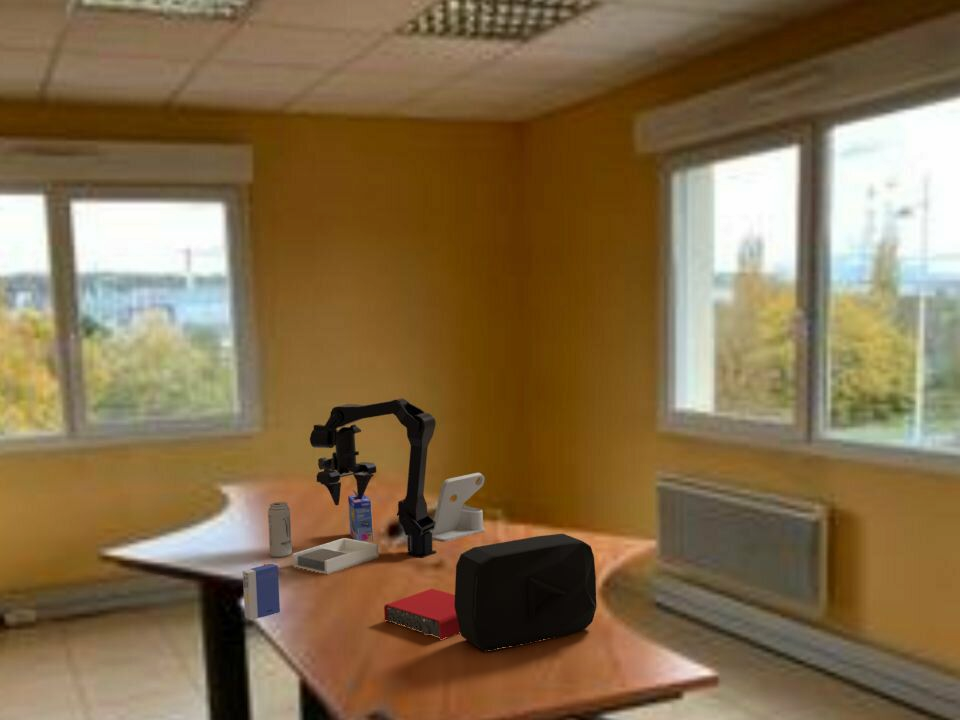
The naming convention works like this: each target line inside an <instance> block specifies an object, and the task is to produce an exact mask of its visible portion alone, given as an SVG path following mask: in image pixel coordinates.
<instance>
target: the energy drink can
mask: <svg viewBox="0 0 960 720" xmlns="http://www.w3.org/2000/svg"><path fill="white" fill-rule="evenodd" d="M267 519H268V537H269V538H268V539H269V542H268V543H269V555H270V556H271V557H273V558H285V556H286V557H289V556H290V555H291V554H293V551H292V549H293V548H292V529H291V527H292V526H291V509H290V507H289V505H288V502H285V501H277V502H271V503H270V504H269V508H268V510H267ZM288 555H289V556H288Z"/></svg>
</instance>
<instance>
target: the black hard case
mask: <svg viewBox="0 0 960 720" xmlns="http://www.w3.org/2000/svg"><path fill="white" fill-rule="evenodd" d="M595 565H596V564H595V555H594V553H593V549H592V546H591V545H589V544H588V543H587V542H585V541H583V540H581V539H578V538H576V537H573V536H570V535H569V534H566V533H556V534H547V535H546V534H545V535H539V536H537V535H536V536H533V537H532V536H531V537H526V538H519V539H515V540H507V541H503V542H497V543H491V544H484V545H480V546H473V547H472V548H470V549H468V550H465V551H464V552H463V553H461V554H460V555H459V558H458V560H457V563H456V565H455V585H454V595H455V604H454V607H455V611H456V616H457V620H458V624H459V628H460V633H459V634H460V636H461V638H463V639H465V640H466V641H468V642H470V643H471V644H473V645H474V646H476V647H477V648H479V649H482V650H484V651H485V650H487V651H486V652H489V651H488V650H494V649H497V648H502V647H509V646H515V647H517V646H516V645H520V644H525V643H530V642H535V641H539V640H543V639H548V638H552V639H554V638H553V637H556V638H559V637H558V636H560V637H563V636H562V635H564V636H568V635H571V634H574V633H576V632H579V631H581V630H585V629H587V628H588V627H589V626H590V625H591V624H592V623H593V621H594V618H595V614H596V610H597V606H598V605H597V581H596V580H597V576H596V566H595ZM567 634H568V635H567ZM548 640H549V639H548ZM535 643H536V642H535ZM530 644H531V643H530ZM525 645H526V644H525ZM520 646H521V645H520ZM494 651H495V650H494Z"/></svg>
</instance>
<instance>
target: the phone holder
mask: <svg viewBox="0 0 960 720" xmlns="http://www.w3.org/2000/svg"><path fill="white" fill-rule="evenodd" d="M478 479H479V480H478ZM484 484H485V475H483V474H482V473H481V472H474V473H470V474H465V475H460V476H455V477H450V478H447V479H445V480H444V481H443V482H442V484H441V487H440V491H439V496H438V499H437V504H436V509H435V512H434V517H433V520H434V521H435V522H436V524H435V528H434V529H433V530H431V531H430V532H432V540H436V541H441V542H449V541H453V540H457V539H461V538H464V537H468V536H471V535H475V534H479V533H482V532H485V527H484V520H483V519H484V517H483V516H484V514H483V512H484V511H483V509H481V508H476V507H472V506H466V505H464V504H465V502H467V501H468V500H469V499H470V498H471V497H472V496H473V495H475V493H477V492H478V491H479V490H480V489H481V488H483V486H484ZM452 496H456V498H455V499H453V501H452V502H450V499H451V498H452ZM463 505H464V506H463Z"/></svg>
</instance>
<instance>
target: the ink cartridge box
mask: <svg viewBox="0 0 960 720" xmlns="http://www.w3.org/2000/svg"><path fill="white" fill-rule="evenodd" d="M352 491H353V493H354V494H353V495H352V494H351V495H348V496H347V498H348V499H347V502H348V514H349V515H348V516H349V518H348V519H349V533H350V534H349V535H350V536H351V537H352V538H353V540H358V541H363V542H368V541H369V540H370V541H374V528H373V524H374V523H373V512H372V500H371V499H370V498H369V497H368V496H367V495H365V494H364V495H363V497H362V499H359V498H358V493H357V491H355V489H352Z"/></svg>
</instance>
